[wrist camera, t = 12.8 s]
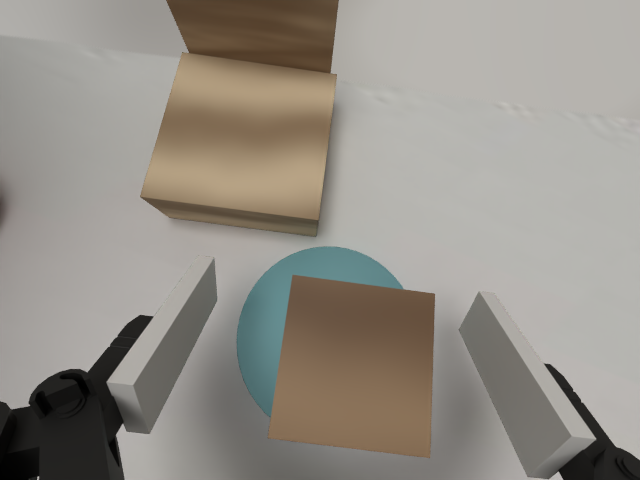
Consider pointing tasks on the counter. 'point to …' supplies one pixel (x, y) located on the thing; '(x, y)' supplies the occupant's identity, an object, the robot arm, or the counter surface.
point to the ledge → (247, 115)
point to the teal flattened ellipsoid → (271, 308)
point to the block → (355, 367)
